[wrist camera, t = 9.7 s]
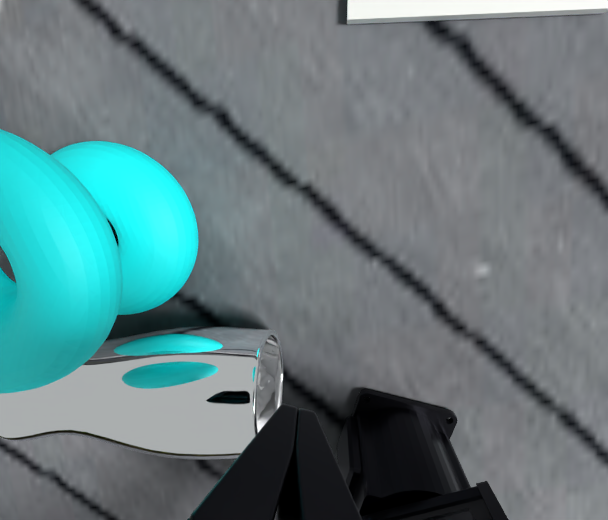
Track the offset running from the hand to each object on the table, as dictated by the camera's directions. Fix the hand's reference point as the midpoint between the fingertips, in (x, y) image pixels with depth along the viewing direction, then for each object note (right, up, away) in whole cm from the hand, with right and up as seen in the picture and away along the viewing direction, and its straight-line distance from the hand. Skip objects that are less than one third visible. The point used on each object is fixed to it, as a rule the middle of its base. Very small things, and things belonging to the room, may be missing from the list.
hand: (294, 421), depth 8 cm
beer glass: (-17, -4, +12) cm, 21 cm away
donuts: (-11, +6, +12) cm, 17 cm away
